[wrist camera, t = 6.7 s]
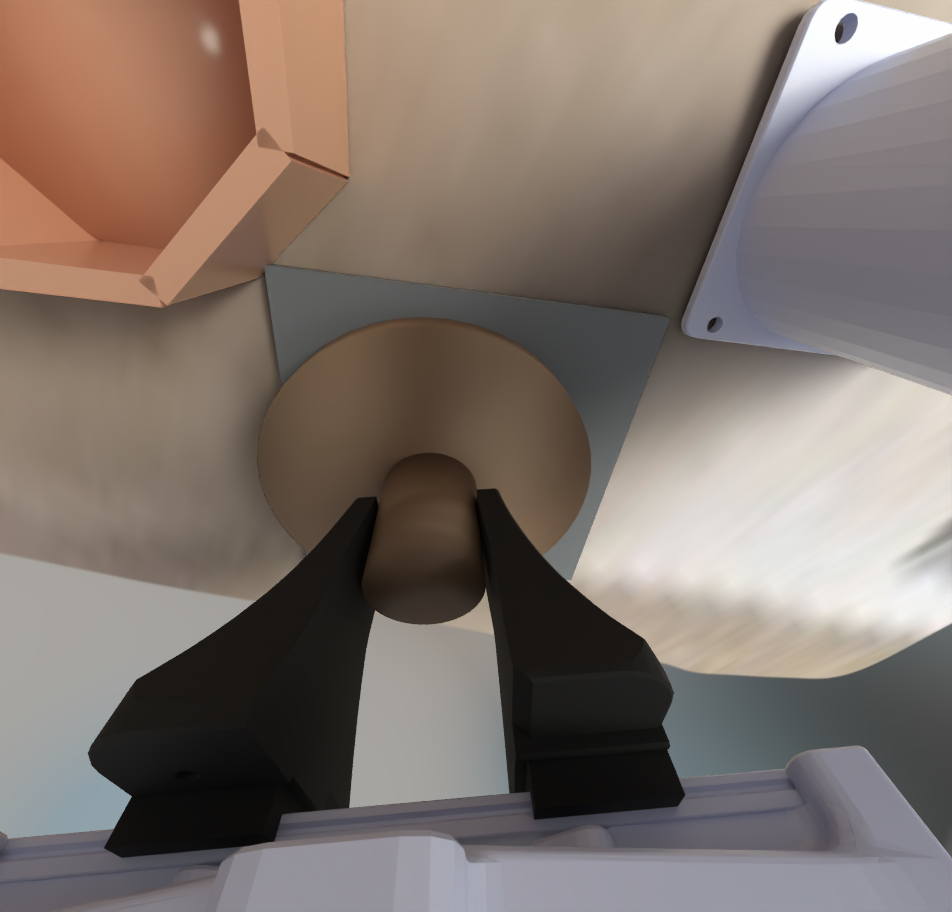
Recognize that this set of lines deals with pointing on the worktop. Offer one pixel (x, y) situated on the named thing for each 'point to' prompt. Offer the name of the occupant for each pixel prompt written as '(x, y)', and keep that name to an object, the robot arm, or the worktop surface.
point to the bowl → (164, 141)
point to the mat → (517, 318)
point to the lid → (423, 455)
